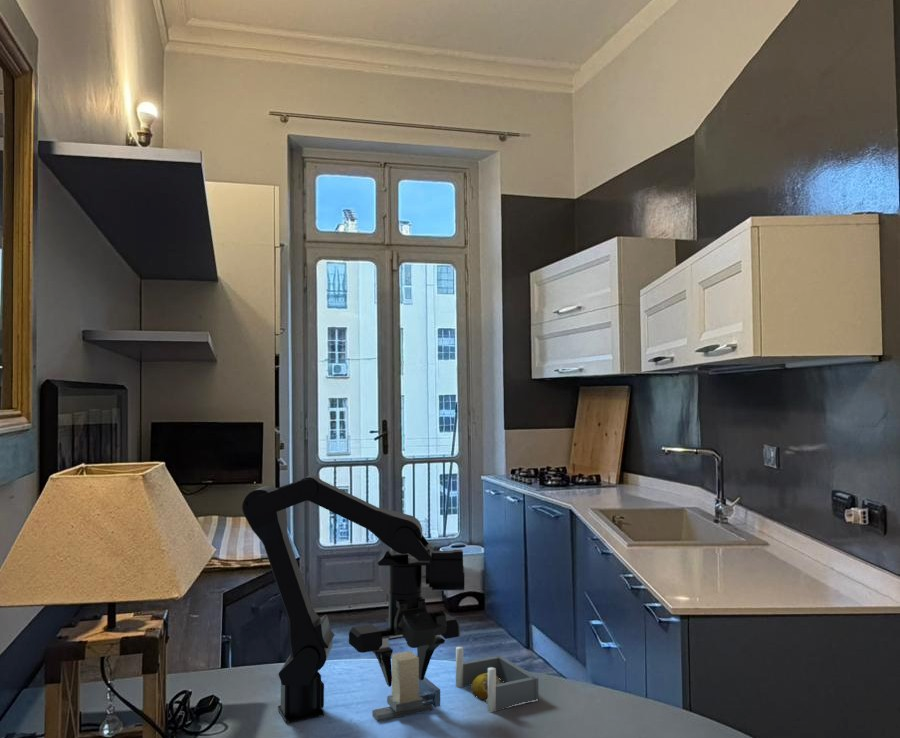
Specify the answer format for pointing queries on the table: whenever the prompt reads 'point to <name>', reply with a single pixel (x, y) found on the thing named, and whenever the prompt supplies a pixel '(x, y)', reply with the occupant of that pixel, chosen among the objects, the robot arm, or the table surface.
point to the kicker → (410, 684)
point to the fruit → (482, 686)
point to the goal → (516, 679)
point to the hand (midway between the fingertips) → (405, 682)
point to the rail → (391, 713)
